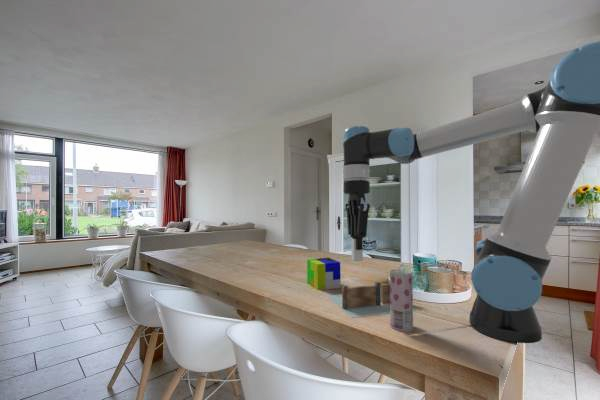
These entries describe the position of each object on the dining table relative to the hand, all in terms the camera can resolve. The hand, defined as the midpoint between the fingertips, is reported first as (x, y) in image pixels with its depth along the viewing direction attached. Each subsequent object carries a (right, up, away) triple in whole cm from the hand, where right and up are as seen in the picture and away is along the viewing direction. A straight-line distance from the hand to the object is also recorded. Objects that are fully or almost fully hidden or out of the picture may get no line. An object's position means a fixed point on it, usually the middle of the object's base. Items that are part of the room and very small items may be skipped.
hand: (357, 260), depth 82 cm
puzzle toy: (-7, -17, +31) cm, 36 cm away
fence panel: (+3, -16, +6) cm, 17 cm away
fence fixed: (+13, -16, +9) cm, 23 cm away
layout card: (+6, -17, +10) cm, 20 cm away
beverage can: (+10, -17, -8) cm, 21 cm away
